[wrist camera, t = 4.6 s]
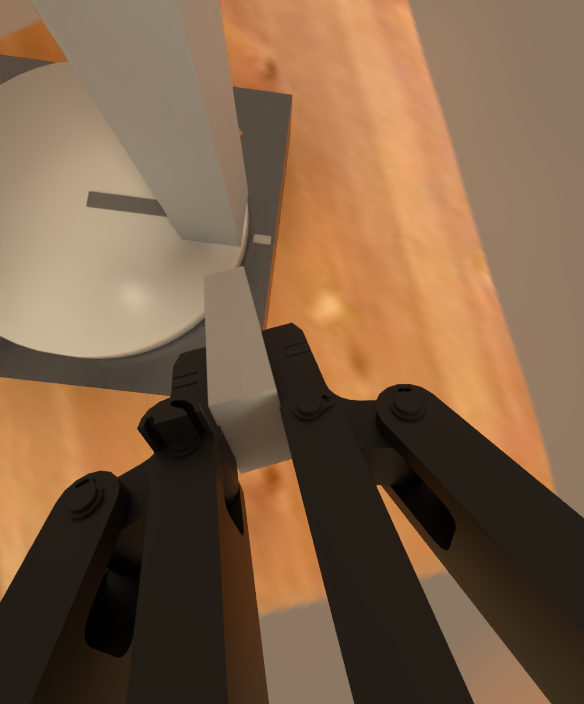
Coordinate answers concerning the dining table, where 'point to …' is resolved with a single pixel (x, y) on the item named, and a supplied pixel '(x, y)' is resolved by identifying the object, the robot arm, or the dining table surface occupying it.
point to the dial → (119, 178)
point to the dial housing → (264, 216)
